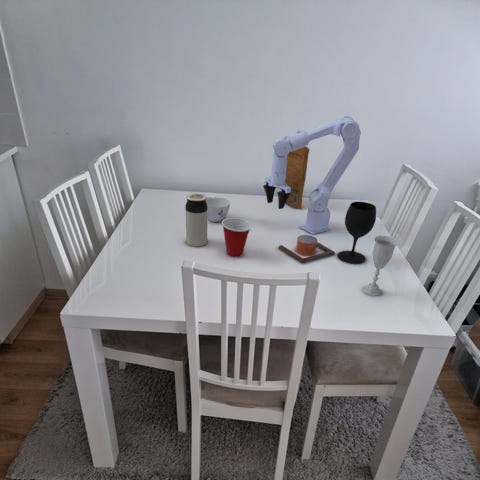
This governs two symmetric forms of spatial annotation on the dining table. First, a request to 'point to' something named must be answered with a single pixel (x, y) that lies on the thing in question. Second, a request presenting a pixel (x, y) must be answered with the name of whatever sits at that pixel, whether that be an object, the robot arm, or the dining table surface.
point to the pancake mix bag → (296, 175)
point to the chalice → (380, 259)
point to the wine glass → (358, 228)
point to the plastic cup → (235, 235)
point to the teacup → (217, 208)
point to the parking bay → (304, 260)
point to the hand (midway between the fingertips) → (275, 205)
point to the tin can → (306, 245)
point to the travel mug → (196, 219)
